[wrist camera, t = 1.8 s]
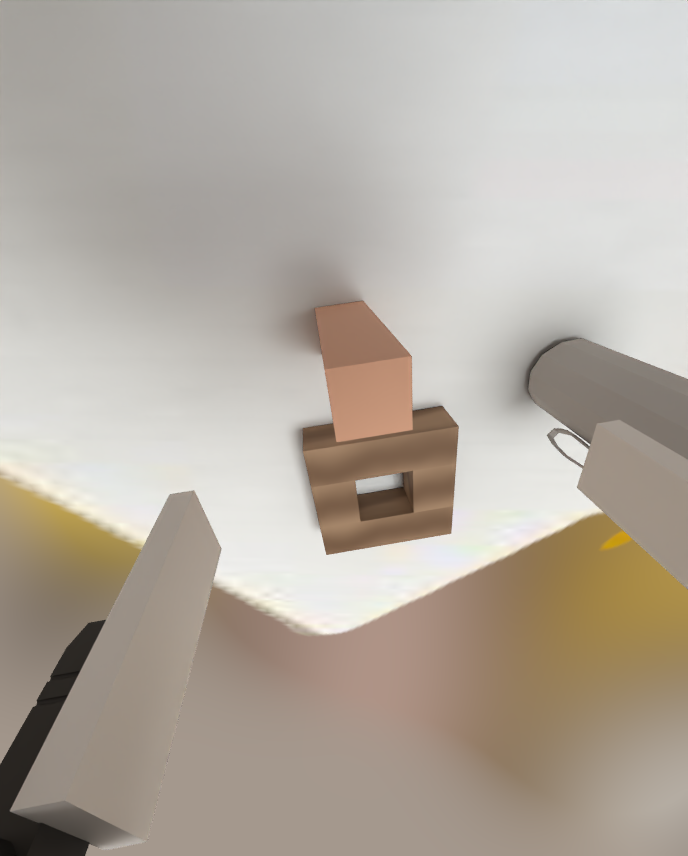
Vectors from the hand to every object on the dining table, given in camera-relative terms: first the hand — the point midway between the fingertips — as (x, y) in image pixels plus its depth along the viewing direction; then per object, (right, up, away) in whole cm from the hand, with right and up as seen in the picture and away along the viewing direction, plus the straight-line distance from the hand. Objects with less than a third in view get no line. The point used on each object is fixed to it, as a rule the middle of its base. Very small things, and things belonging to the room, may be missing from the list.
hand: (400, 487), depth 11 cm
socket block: (+2, -3, +25) cm, 26 cm away
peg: (-2, +10, +17) cm, 20 cm away
